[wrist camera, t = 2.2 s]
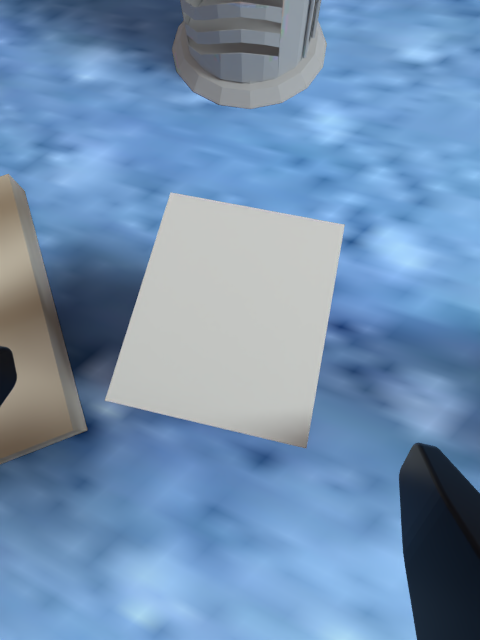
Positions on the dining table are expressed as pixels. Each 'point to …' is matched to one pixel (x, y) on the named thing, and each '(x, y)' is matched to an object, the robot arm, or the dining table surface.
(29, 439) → the board
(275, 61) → the french press
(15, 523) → the dining table surface
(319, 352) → the block
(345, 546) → the dining table surface
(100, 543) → the dining table surface
